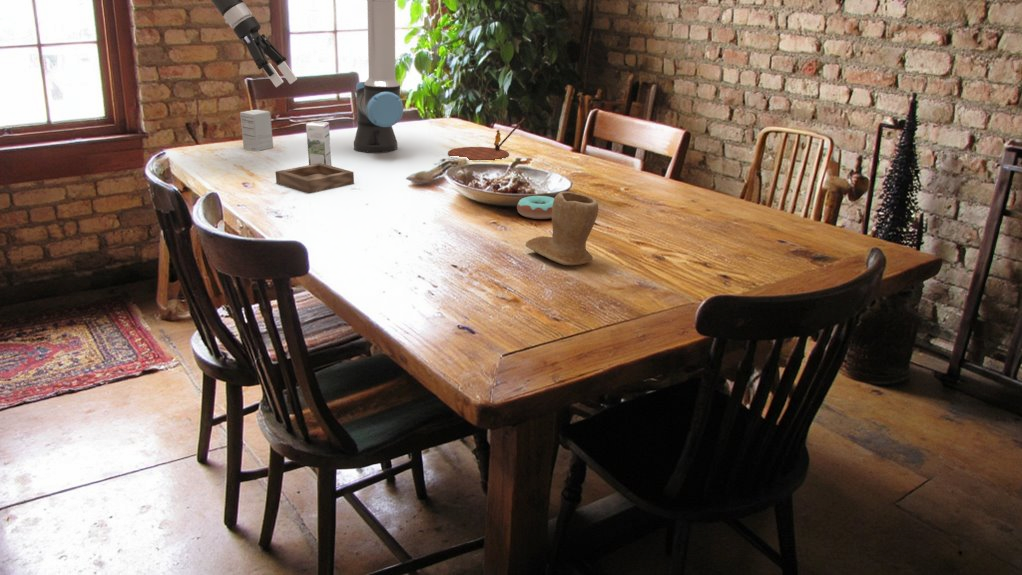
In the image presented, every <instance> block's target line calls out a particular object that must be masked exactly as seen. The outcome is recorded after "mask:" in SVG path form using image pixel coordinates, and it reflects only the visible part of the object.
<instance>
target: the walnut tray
mask: <svg viewBox="0 0 1022 575" xmlns="http://www.w3.org/2000/svg"><path fill="white" fill-rule="evenodd" d="M274 172H275V173H274V174H275V181H276V182H275V184H277V185H281V186H283V187H286V188H290V189H294V190H297V191H300V192H303V193H307V194H312V192H313V193H317V192H321V190H322V191H327V190H331V189H336V188H340V187H345V186H349V185H350V186H351V185H354V184H355V176H354V173H355V172H354V171H351V170H347V169H344V168H340V167H337V166H334V165H332V166H330V165H326V164H322V163H318V164H313V165H309V164H308V165H303V166H297V167H292V168H287V169H282V170H277V171H274ZM335 187H336V188H335ZM326 189H327V190H326ZM316 191H317V192H316Z"/></svg>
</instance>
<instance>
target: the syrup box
mask: <svg viewBox="0 0 1022 575" xmlns="http://www.w3.org/2000/svg"><path fill="white" fill-rule="evenodd" d="M305 130H306V143H307V144H306V145H307V154H308V157H307V158H308V165H313V164H318V163H322V164H326V165H330V166H333V164H332V155H331V138H330V136H331V135H330V122H327V121H309V122H307V123H306V124H305Z"/></svg>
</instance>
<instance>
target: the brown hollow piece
mask: <svg viewBox="0 0 1022 575" xmlns="http://www.w3.org/2000/svg"><path fill="white" fill-rule="evenodd" d="M553 198H554V201H553V205H552V218H551V224H552V226H551V228H552V236H548V235H547V236H536V237H533V238H531V239H528V240H527V241H526V242H525V247H526V248H528V249H530V250H531V251H533V252H534V253H537V254H539V255H541V256H542V257H545V258H546V259H548V260H550V261H552V262H555V263H558V264H560V265H564V266H580V265H585V264H588V263H589V262H592V260H593V259H594V258H593V255H592V254H591V253H590V252H589V251H588V250H587V249H586V248H587V246H586V245H587V241H588V238H589V236H590V234H591V231H592V229H593V227H594V226H595V223H596V221H597V218H598V215H599V203H598V201H597V200H596V199H595V198H593V197H590V196H588V195H585V194H581V193H576V192H574V191H573V192H572V191H560V192H558V193H557V194H556V195H555V197H553Z"/></svg>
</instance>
